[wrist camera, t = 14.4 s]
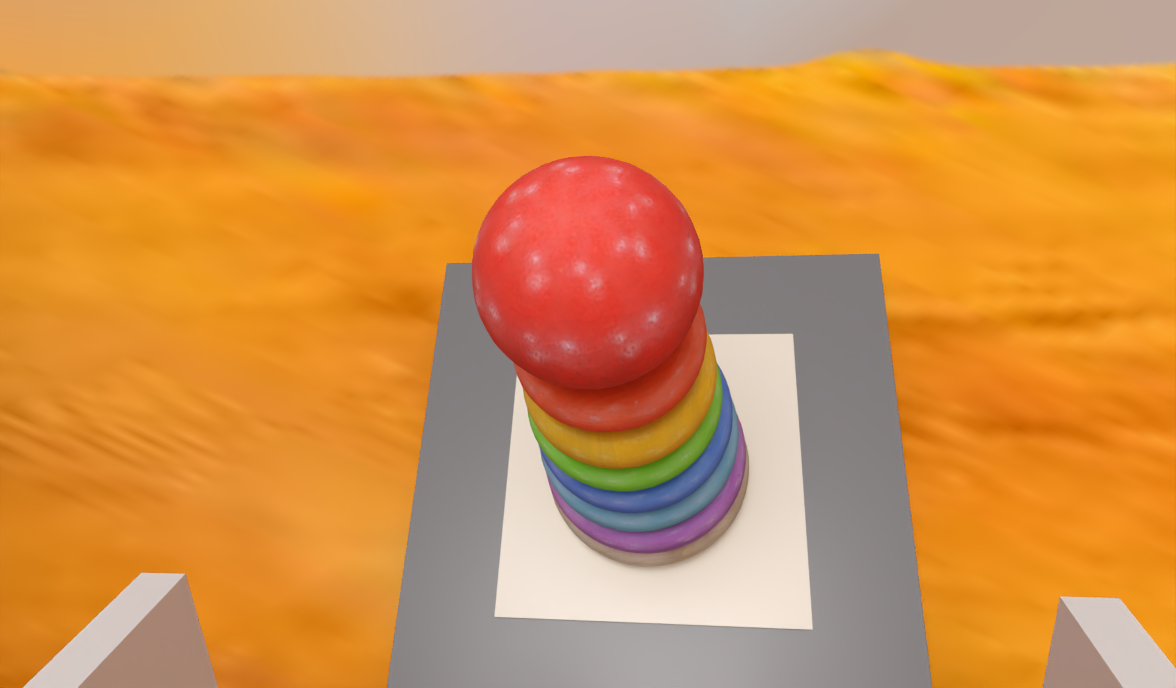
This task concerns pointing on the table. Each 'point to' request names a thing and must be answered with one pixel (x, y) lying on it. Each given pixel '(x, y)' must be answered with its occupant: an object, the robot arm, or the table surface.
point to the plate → (712, 577)
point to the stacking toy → (614, 356)
